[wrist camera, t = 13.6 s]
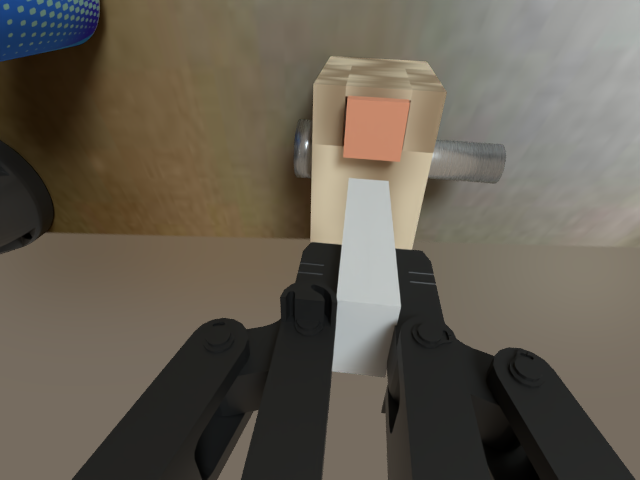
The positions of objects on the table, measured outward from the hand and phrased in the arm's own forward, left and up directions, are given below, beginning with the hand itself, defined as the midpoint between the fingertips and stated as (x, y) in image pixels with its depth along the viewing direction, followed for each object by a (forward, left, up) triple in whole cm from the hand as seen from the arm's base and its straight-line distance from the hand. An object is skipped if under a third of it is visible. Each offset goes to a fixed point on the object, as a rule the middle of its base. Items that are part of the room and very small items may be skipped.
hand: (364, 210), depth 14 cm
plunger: (0, 0, -17) cm, 17 cm away
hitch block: (0, -4, -21) cm, 22 cm away
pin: (+2, -4, -18) cm, 18 cm away
